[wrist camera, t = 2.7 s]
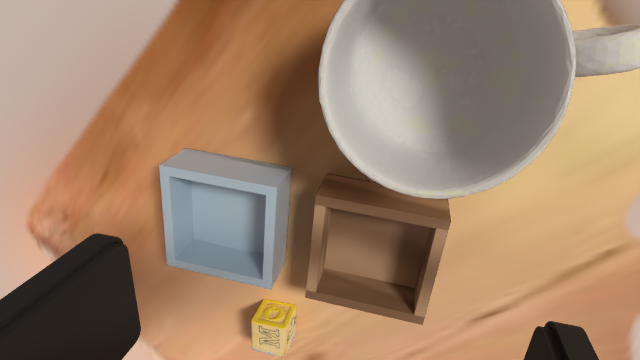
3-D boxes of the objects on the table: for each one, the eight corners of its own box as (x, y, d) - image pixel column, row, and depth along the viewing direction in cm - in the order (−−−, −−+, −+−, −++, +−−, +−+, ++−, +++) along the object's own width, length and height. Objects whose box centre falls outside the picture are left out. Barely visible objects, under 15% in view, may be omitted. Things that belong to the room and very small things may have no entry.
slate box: (285, 261, 33) (271, 289, 30) (190, 240, 34) (167, 265, 31) (292, 167, 29) (276, 187, 26) (185, 148, 31) (159, 165, 28)
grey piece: (344, 141, 28) (318, 191, 21) (345, -38, 23) (312, -54, 16) (569, 153, 25) (629, 215, 18) (618, -50, 20) (723, -75, 13)
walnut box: (422, 292, 31) (422, 324, 28) (316, 268, 33) (305, 297, 29) (447, 195, 28) (450, 220, 25) (327, 173, 29) (315, 195, 26)
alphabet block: (263, 324, 37) (250, 350, 34) (262, 297, 35) (249, 322, 33) (296, 331, 36) (286, 358, 33) (297, 303, 35) (286, 329, 32)
